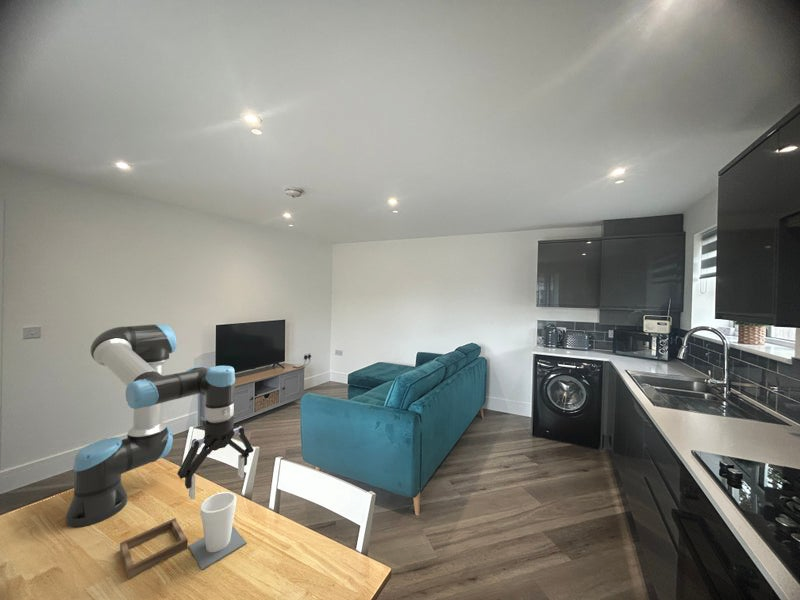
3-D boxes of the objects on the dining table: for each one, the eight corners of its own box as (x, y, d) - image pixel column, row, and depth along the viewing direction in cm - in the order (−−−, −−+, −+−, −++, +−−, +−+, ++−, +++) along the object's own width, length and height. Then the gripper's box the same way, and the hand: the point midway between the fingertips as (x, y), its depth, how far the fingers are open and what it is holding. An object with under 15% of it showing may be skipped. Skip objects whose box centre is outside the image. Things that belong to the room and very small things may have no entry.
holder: (120, 551, 89) (120, 542, 89) (175, 525, 99) (175, 517, 99) (128, 579, 81) (128, 569, 81) (187, 547, 91) (187, 539, 91)
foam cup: (218, 559, 87) (219, 515, 86) (192, 553, 88) (192, 509, 88) (242, 534, 96) (243, 494, 96) (217, 529, 98) (218, 489, 98)
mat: (188, 546, 91) (188, 545, 91) (230, 524, 100) (230, 523, 100) (201, 570, 84) (202, 569, 84) (246, 543, 93) (246, 542, 93)
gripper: (173, 435, 79) (171, 514, 80) (265, 410, 99) (263, 473, 99) (165, 426, 84) (163, 500, 85) (255, 403, 103) (253, 464, 104)
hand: (217, 486), depth 92 cm, fingers open, 13 cm apart
